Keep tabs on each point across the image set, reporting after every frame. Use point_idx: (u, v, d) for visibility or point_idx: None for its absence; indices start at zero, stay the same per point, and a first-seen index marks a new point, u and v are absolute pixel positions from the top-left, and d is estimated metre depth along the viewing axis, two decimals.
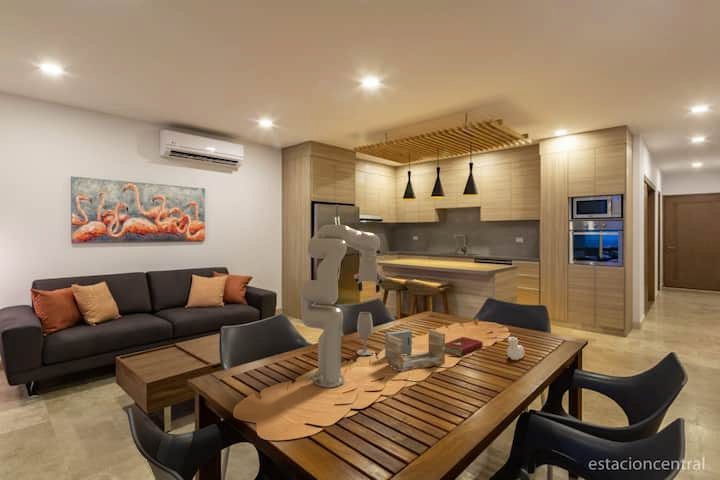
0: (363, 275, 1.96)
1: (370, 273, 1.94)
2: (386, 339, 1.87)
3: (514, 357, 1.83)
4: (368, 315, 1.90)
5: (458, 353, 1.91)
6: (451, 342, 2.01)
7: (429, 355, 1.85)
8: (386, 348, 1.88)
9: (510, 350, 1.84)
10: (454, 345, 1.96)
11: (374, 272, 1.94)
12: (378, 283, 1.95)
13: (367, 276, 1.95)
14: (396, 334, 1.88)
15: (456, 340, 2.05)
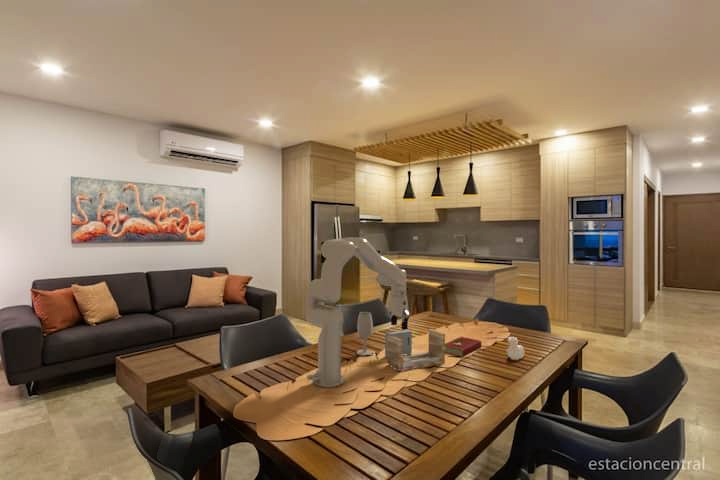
0: None
1: None
2: (386, 339, 1.87)
3: (514, 357, 1.83)
4: (368, 315, 1.90)
5: (459, 353, 1.91)
6: (451, 342, 2.01)
7: (429, 355, 1.85)
8: (386, 348, 1.88)
9: (510, 350, 1.84)
10: (454, 345, 1.96)
11: None
12: (395, 315, 1.96)
13: None
14: (396, 334, 1.88)
15: (455, 340, 2.05)
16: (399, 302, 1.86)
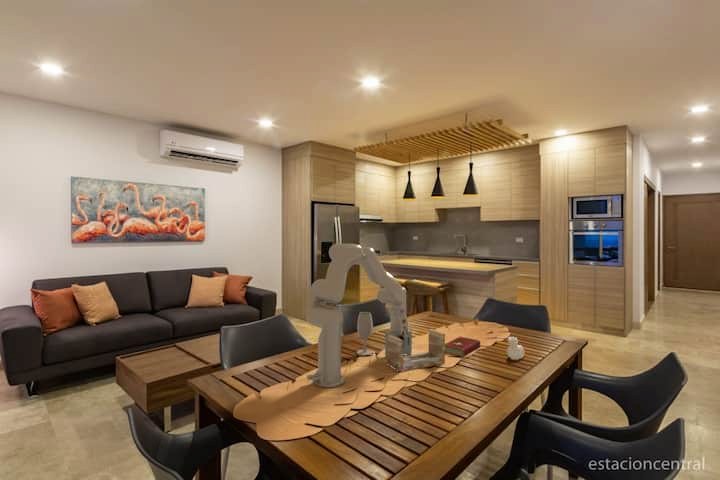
0: None
1: None
2: (386, 339, 1.87)
3: (514, 357, 1.83)
4: (368, 315, 1.90)
5: (460, 353, 1.91)
6: (451, 342, 2.01)
7: (429, 355, 1.85)
8: (386, 348, 1.88)
9: (510, 350, 1.84)
10: (455, 345, 1.96)
11: None
12: None
13: None
14: (396, 334, 1.88)
15: (455, 340, 2.05)
16: (399, 320, 1.86)
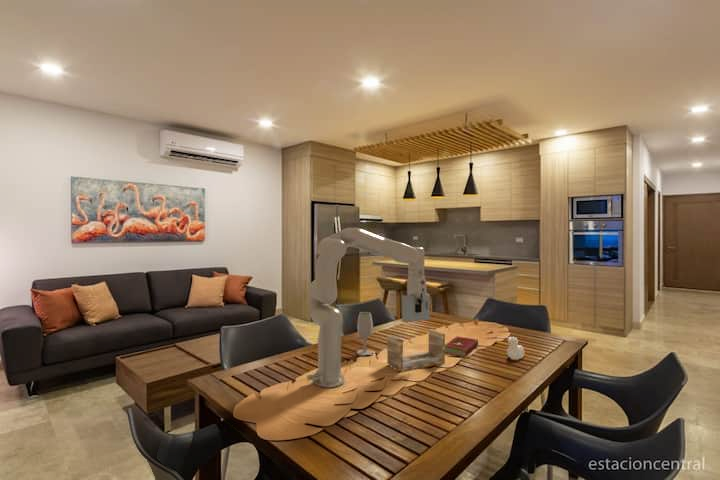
0: None
1: None
2: (403, 302, 1.75)
3: (514, 357, 1.83)
4: (368, 315, 1.90)
5: (462, 353, 1.90)
6: (451, 343, 2.00)
7: (429, 355, 1.85)
8: (403, 312, 1.75)
9: (510, 350, 1.84)
10: (456, 345, 1.95)
11: None
12: None
13: None
14: (414, 297, 1.76)
15: (454, 340, 2.05)
16: (417, 281, 1.74)
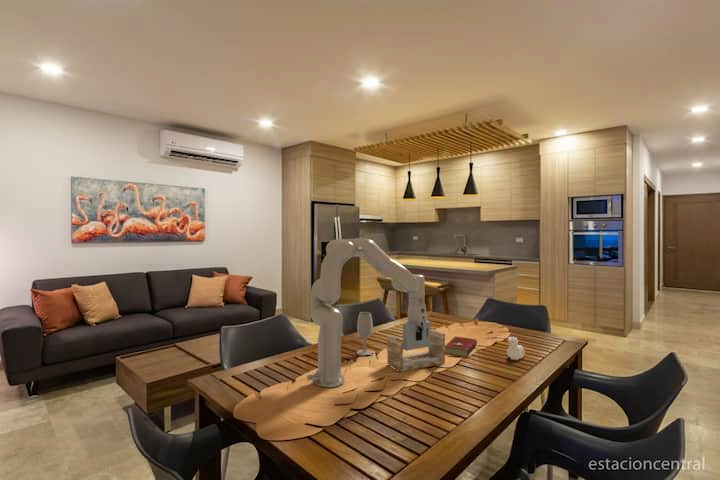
0: None
1: None
2: (404, 330, 1.75)
3: (514, 357, 1.83)
4: (368, 315, 1.90)
5: (463, 353, 1.90)
6: (451, 343, 2.00)
7: (429, 355, 1.85)
8: (404, 340, 1.75)
9: (510, 350, 1.84)
10: (456, 346, 1.95)
11: None
12: None
13: None
14: (414, 325, 1.76)
15: (453, 340, 2.04)
16: (417, 310, 1.74)
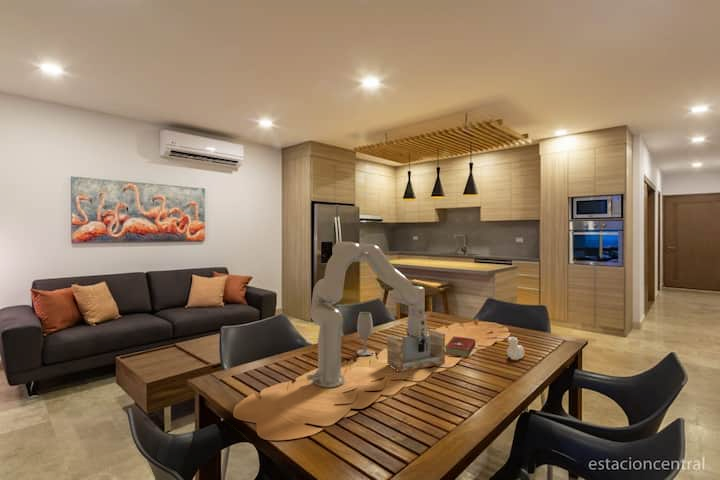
0: None
1: None
2: (404, 345, 1.75)
3: (514, 357, 1.83)
4: (368, 315, 1.90)
5: (464, 353, 1.90)
6: (451, 343, 2.00)
7: None
8: (403, 354, 1.76)
9: (510, 350, 1.84)
10: (457, 346, 1.95)
11: None
12: None
13: None
14: (414, 339, 1.76)
15: (452, 340, 2.04)
16: (417, 322, 1.74)
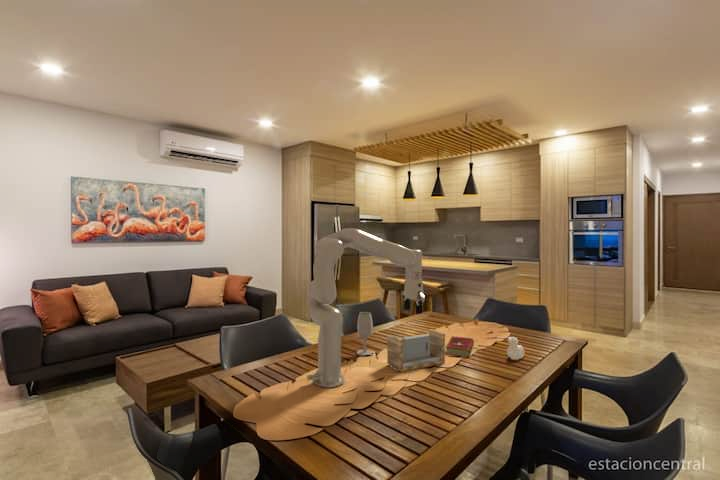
0: None
1: None
2: (404, 344, 1.75)
3: (514, 357, 1.83)
4: (368, 315, 1.90)
5: (465, 353, 1.90)
6: (451, 343, 1.99)
7: None
8: (403, 354, 1.76)
9: (510, 350, 1.84)
10: (457, 346, 1.95)
11: None
12: (408, 299, 1.83)
13: None
14: (414, 339, 1.76)
15: (452, 340, 2.04)
16: (414, 284, 1.73)
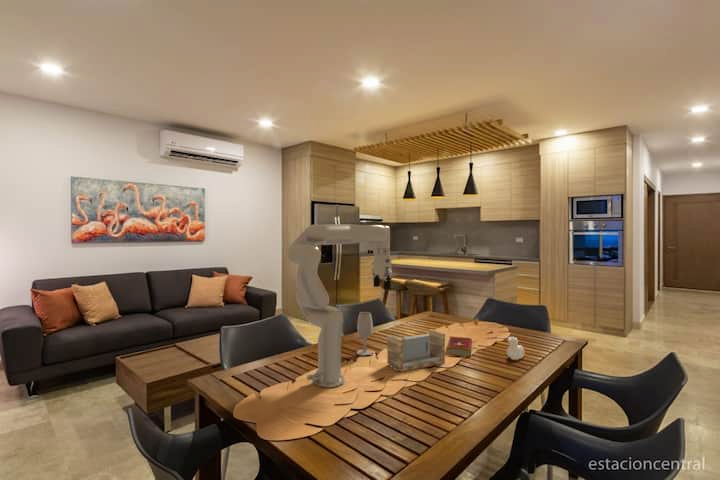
0: None
1: None
2: (404, 344, 1.75)
3: (514, 357, 1.83)
4: (368, 315, 1.90)
5: (466, 353, 1.90)
6: (451, 343, 1.99)
7: None
8: (403, 354, 1.76)
9: (510, 350, 1.84)
10: (458, 346, 1.95)
11: None
12: (378, 276, 1.83)
13: None
14: (414, 339, 1.76)
15: (451, 341, 2.04)
16: (382, 260, 1.73)
